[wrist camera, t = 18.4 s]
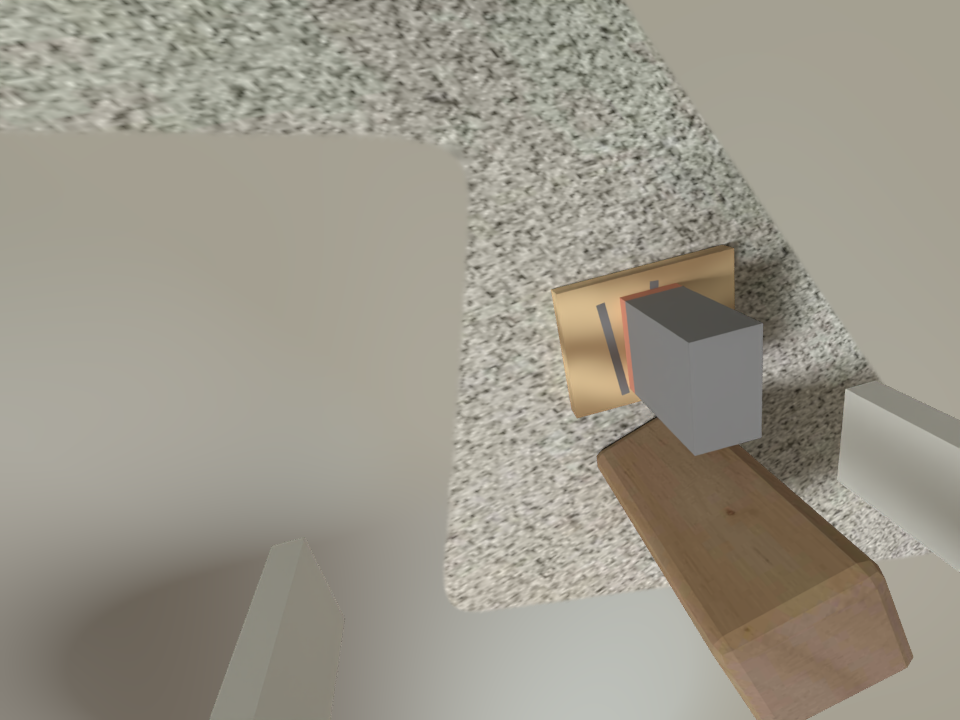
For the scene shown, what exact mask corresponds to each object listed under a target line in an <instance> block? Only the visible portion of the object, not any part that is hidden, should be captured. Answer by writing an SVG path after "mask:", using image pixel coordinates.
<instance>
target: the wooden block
mask: <svg viewBox="0 0 960 720" xmlns="http://www.w3.org/2000/svg"><path fill="white" fill-rule="evenodd" d="M597 464H598V468H599V470H600V471H601V473H602V474H603V476H604V478H605V479H606V481H607V483H608V484H609V486H610V487H611V489H612V491H613V492H614V494H615V496H616V497H617V499H618V501H619V502H620V504H621V505H622V507H623V509H624V510H625V512H626V514H627V515H628V517H629V519H630V520H631V522H632V523H633V525H634V527H635V528H636V530H637V532H638V533H639V535H640V537H641V538H642V540H643V541H644V543H645V545H646V546H647V548H648V550H649V551H650V553H651V554H652V556H653V558H654V559H655V561H656V563H657V564H658V566H659V568H660V569H661V571H662V572H663V574H664V576H665V577H666V579H667V581H668V582H669V584H670V586H671V587H672V589H673V590H674V592H675V594H676V595H677V597H678V599H679V600H680V602H681V603H682V605H683V607H684V608H685V610H686V611H687V613H688V615H689V617H690V618H691V620H692V621H693V623H694V625H695V626H696V628H697V629H698V631H699V633H700V634H701V636H702V638H703V639H704V641H705V643H706V644H707V646H708V647H709V649H710V651H711V653H712V654H713V656H714V657H715V659H716V660H717V662H718V663H719V665H720V666H721V668H722V669H723V670H724V672H725V674H726V675H727V676H728V678H729V679H730V681H731V682H732V684H733V685H734V687H735V688H736V690H737V691H738V693H739V694H740V696H741V697H742V699H743V700H744V702H745V703H746V705H747V706H748V708H749V709H750V710H751V712H752V714H753V715H754V717H755V718H756V720H806V719H808V718H810V717H812V716H814V715H816V714H818V713H819V712H821V711H823V710H825V709H827V708H829V707H831V706H833V705H835V704H837V703H839V702H841V701H843V700H845V699H847V698H849V697H851V696H853V695H855V694H857V693H859V692H860V691H862V690H864V689H866V688H868V687H870V686H872V685H874V684H876V683H878V682H880V681H882V680H884V679H885V678H888V677H889V676H892V675H894V674H896V673H898V672H900V671H902V670H903V669H905V668H907V667H908V665H909V663H910V662H911V660H912V659H913V655H912V652H911V649H910V646H909V644H908V641H907V638H906V636H905V633H904V630H903V627H902V624H901V622H900V619H899V616H898V613H897V610H896V608H895V605H894V602H893V599H892V597H891V594H890V591H889V589H888V586H887V583H886V580H885V578H884V576H883V574H882V572H881V570H880V568H879V566H878V565H877V564H876V563H875V562H874V561H873V560H871V559H870V558H869V557H868V556H867V555H866V554H864V553H863V552H862V551H861V550H860V549H859V548H858V547H856V546H855V545H854V544H853V543H852V542H851V541H849V540H848V539H847V538H846V537H845V536H844V535H842V534H841V533H840V532H839V531H838V530H837V529H836V528H834V527H833V526H832V525H831V524H830V523H829V522H827V521H826V520H825V519H824V518H823V517H822V516H821V515H819V514H818V513H817V512H816V511H815V510H814V509H812V508H811V507H810V506H809V505H808V504H807V503H806V502H804V501H803V500H802V499H801V498H800V497H799V496H797V495H796V494H795V493H794V492H793V491H792V490H790V489H789V488H788V487H787V486H786V485H785V484H784V483H782V482H781V481H780V480H779V479H778V478H777V477H775V476H774V475H773V474H772V473H771V472H770V471H769V470H767V469H766V468H765V467H764V466H763V465H762V464H760V463H759V462H758V461H757V460H756V459H755V458H753V457H752V456H751V455H750V454H749V453H748V452H747V451H745V450H744V449H743V448H742V447H741V446H740V445H738V444H737V445H733V446H729V447H726V448H722V449H719V450H715V451H711V452H708V453H704V454H700V455H697V456H694V454H693V453H692V452H691V451H690V450H689V449H688V448H687V447H686V446H685V445H684V444H683V443H682V442H681V441H680V440H679V439H678V438H677V437H676V436H675V435H674V434H673V433H672V432H671V431H670V430H669V429H668V427H667V426H666V425H665V424H664V423H663V422H662V421H661V420H660V419H659V418H658V417H657V418H655V419H653V420H652V421H650V422H648V423H647V424H645V425H644V426H642V427H640V428H639V429H637V430H635V431H634V432H632V433H630V434H629V435H627V436H625V437H624V438H622V439H620V440H619V441H617V442H615V443H614V444H612V445H610V446H609V447H607V448H605V449H604V450H602V451H601V452H600V453H599V454H598V455H597Z"/></svg>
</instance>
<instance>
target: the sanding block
mask: <svg viewBox="0 0 960 720" xmlns="http://www.w3.org/2000/svg"><path fill="white" fill-rule="evenodd" d="M620 305H621V314H622V323H623V332H624V341H625V350H626V358H627V367H628V376H629V385H630V389H631V390H632V391H633V392H634V393H635V394H636V395H637V396H638V397H639V398H640V399H641V400H642V402H643V403H644V404H645V405H646V406H647V407H648V408H649V409H650V410H651V411H652V412H653V413H654V414H655V415H656V416H657V417H658V418H659V419H660V420H661V421H662V422H663V423H664V424H665V425H666V426H667V427H668V429H669V430H670V431H671V432H672V433H673V434H674V435H675V436H676V437H677V438H678V439H679V440H680V441H681V442H682V443H683V444H684V445H685V446H686V447H687V448H688V449H689V450H690V451H691V452H692V453H693V454H694V456H697V455H700V454H704V453H708V452H711V451H715V450H719V449H722V448H726V447H729V446H733V445H737V444H740V443H744V442H748V441H751V440H755V439H758V438H762V369H763V323H762V322H760V321H757V320H755V319H753V318H751V317H749V316H747V315H744V314H742V313H740V312H738V311H736V310H734V309H731V308H729V307H727V306H725V305H723V304H721V303H718V302H716V301H714V300H712V299H710V298H708V297H705V296H703V295H701V294H699V293H697V292H694V291H692V290H690V289H688V288H686V287H684V286H681V285H679V284H677V283H674V284H670V285H666V286H662V287H658V288H654V289H651V290H647V291H643V292H639V293H635V294H632V295H628V296H624V297H620Z"/></svg>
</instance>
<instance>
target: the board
mask: <svg viewBox="0 0 960 720" xmlns="http://www.w3.org/2000/svg"><path fill="white" fill-rule="evenodd" d="M674 283H677V284H679V285H681V286H684V287H686V288H688V289H690V290H692V291H694V292H697V293H699V294H701V295H703V296H705V297H708V298H710V299H712V300H714V301H716V302H718V303H721V304H723V305H725V306H727V307H729V308H731V309H734V310H735V284H734V248H732V247H729V246H725V245H720V246H716V247H712V248H708V249H704V250H700V251H697V252H693V253H689V254H685V255H681V256H677V257H674V258H670V259H666V260H662V261H658V262H654V263H651V264H647V265H643V266H639V267H635V268H631V269H628V270H624V271H620V272H616V273H612V274H608V275H605V276H601V277H597V278H593V279H589V280H585V281H582V282H578V283H574V284H570V285H566V286H563V287H559V288H555V289H551V292H552V298H553V304H554V309H555V315H556V321H557V327H558V333H559V338H560V344H561V350H562V356H563V362H564V368H565V373H566V379H567V385H568V391H569V397H570V402H571V408H572V411H573V412H574V414H575V416H576V417H577V418H580V417H584V416H587V415H591V414H595V413H598V412H602V411H606V410H609V409H613V408H617V407H620V406H624V405H628V404H632V403H635V402H639V401H642V400H641V399H640V398H639V397H638V396H637V395H636V394H635V393H634V392H633V391H632V390H631V389H630V385H629V376H628V367H627V358H626V350H625V341H624V332H623V323H622V314H621V305H620V297H624V296H628V295H632V294H635V293H639V292H643V291H647V290H651V289H654V288H658V287H662V286H666V285H670V284H674Z"/></svg>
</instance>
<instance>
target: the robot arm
mask: <svg viewBox="0 0 960 720" xmlns="http://www.w3.org/2000/svg"><path fill="white" fill-rule="evenodd" d="M837 481H838V482H840V483H841V484H842V485H844V486H845V487H846V488H848V489H849V490H850V491H852V492H853V493H854V494H856V495H857V496H858V497H860V498H861V499H862V500H864V501H865V502H866V503H868V504H869V505H870V506H872V507H873V508H874V509H876V510H877V511H878V512H880V513H881V514H882V515H884V516H885V517H886V518H888V519H889V520H890V521H892V522H893V523H894V524H896V525H897V526H898V527H900V528H901V529H902V530H904V531H905V532H906V533H908V534H909V535H910V536H912V537H913V538H914V539H916V540H917V541H918V542H920V543H921V544H922V545H924V546H925V547H926V548H928V549H929V550H930V551H932V552H933V553H934V554H936V555H937V556H938V557H940V558H941V559H942V560H944V561H945V562H947V563H948V564H949V565H950V566H952V567H953V568H954V569H956V570H957V571H958V572H960V420H958V419H956V418H954V417H952V416H950V415H948V414H946V413H943V412H941V411H939V410H937V409H935V408H933V407H931V406H929V405H926V404H924V403H922V402H920V401H918V400H916V399H914V398H912V397H910V396H908V395H905V394H903V393H901V392H899V391H897V390H895V389H893V388H891V387H888V386H886V385H884V384H882V383H880V382H878V381H872V382H869V383H865V384H861V385H858V386H854V387H850V388H847V389H845V400H844V411H843V421H842V432H841V443H840V454H839V464H838V475H837ZM344 622H345V618H344V616H343V614H342V612H341V610H340V608H339V606H338V604H337V602H336V600H335V598H334V596H333V594H332V591H331V589H330V588H329V585H328V584H327V581H326V579H325V577H324V575H323V573H322V571H321V569H320V567H319V565H318V563H317V561H316V559H315V557H314V555H313V553H312V551H311V549H310V547H309V545H308V543H307V541H306V539H305V537H303V538H299V539H296V540H292V541H288V542H285V543H281V544H277V545H274V546H272V547H271V550H270V552H269V556H268V558H267V561H266V563H265V566H264V569H263V572H262V575H261V577H260V580H259V583H258V586H257V588H256V592H255V594H254V597H253V600H252V602H251V605H250V608H249V611H248V613H247V616H246V619H245V622H244V625H243V627H242V630H241V633H240V636H239V638H238V641H237V644H236V647H235V650H234V652H233V655H232V658H231V661H230V663H229V666H228V669H227V672H226V675H225V678H224V680H223V683H222V686H221V688H220V691H219V694H218V697H217V700H216V702H215V705H214V708H213V711H212V714H211V716H210V719H209V720H330V719H331V712H332V705H333V698H334V691H335V684H336V677H337V670H338V663H339V656H340V649H341V642H342V635H343V629H344Z"/></svg>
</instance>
